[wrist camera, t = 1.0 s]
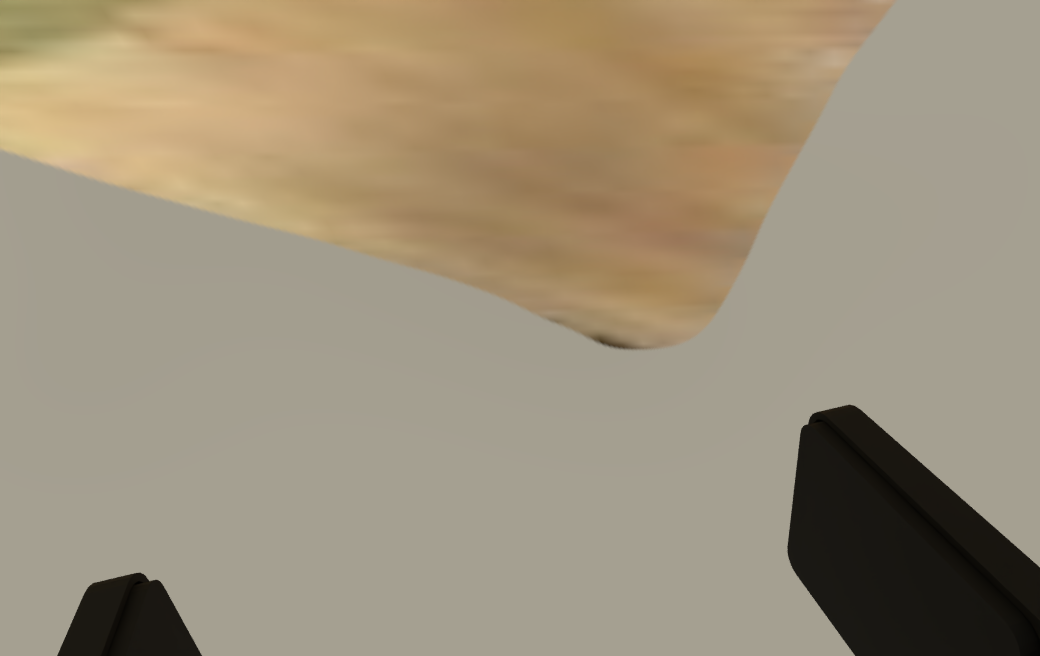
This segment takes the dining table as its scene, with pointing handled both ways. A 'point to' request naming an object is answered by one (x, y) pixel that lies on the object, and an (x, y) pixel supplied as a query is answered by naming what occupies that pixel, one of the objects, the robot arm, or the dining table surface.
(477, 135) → the dining table surface
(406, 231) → the dining table surface
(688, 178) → the dining table surface
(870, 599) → the robot arm
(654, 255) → the dining table surface
